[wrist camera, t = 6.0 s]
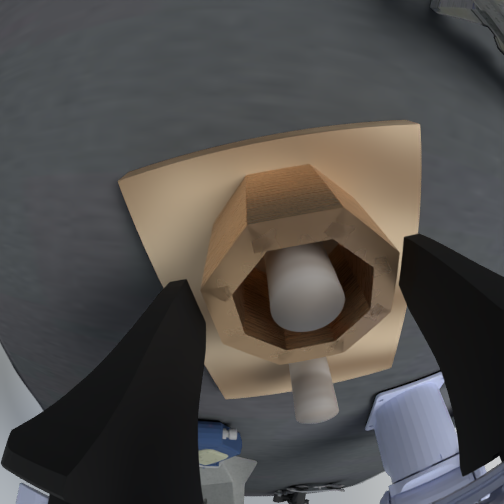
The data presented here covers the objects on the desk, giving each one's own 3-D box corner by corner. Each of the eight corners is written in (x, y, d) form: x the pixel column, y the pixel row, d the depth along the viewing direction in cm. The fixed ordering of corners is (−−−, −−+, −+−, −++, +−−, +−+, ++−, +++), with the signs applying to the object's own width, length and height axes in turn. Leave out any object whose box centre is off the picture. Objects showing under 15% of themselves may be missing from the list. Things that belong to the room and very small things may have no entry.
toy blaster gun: (38, 368, 20) (86, 426, 28) (25, 402, 16) (80, 451, 25) (247, 402, 22) (235, 448, 30) (249, 445, 19) (236, 476, 27)
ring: (354, 277, 13) (385, 342, 9) (236, 299, 13) (235, 371, 10) (351, 157, 10) (403, 198, 6) (201, 184, 10) (180, 238, 7)
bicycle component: (349, 485, 46) (300, 487, 43) (344, 509, 42) (293, 514, 39) (319, 480, 55) (272, 479, 52) (314, 502, 51) (266, 503, 48)
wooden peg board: (385, 355, 18) (407, 413, 14) (226, 385, 19) (224, 448, 15) (405, 119, 10) (488, 150, 5) (128, 172, 11) (65, 229, 6)
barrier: (157, 474, 42) (153, 514, 33) (127, 464, 39) (121, 506, 30) (257, 459, 32) (259, 520, 23) (218, 449, 29) (217, 518, 20)
